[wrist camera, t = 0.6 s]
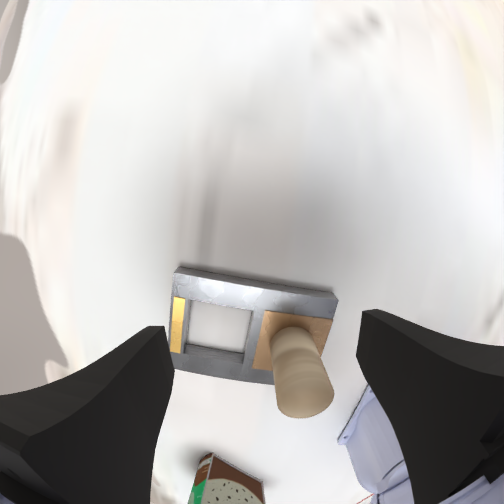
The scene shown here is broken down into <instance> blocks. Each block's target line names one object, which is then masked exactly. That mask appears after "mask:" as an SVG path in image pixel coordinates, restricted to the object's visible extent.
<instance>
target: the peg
mask: <svg viewBox="0 0 504 504" xmlns="http://www.w3.org/2000/svg"><path fill="white" fill-rule="evenodd" d="M270 352H271V360H272V367H273V375H274V383H275V390H276V398H277V406H278V408H279V410H280V411H281V412H282V413H283V414H284V415H286V416H288V417H292V418H308V417H312V416H315V415H317V414H319V413H321V412H322V411H324V410H325V409H326V408H327V407H328V406H329V405H330V404H331V402H332V400H333V398H334V390H333V387H332V385H331V382H330V380H329V377H328V375H327V372H326V370H325V367H324V365H323V362H322V360H321V358H320V355H319V353H318V350H317V348H316V345H315V343H314V341H313V338H312V336H311V334H310V333H309V332H308V331H307V330H305V329H303V328H300V327H288V328H284V329H282V330H280V331H279V332H277V333H276V334H275V335H274V337H273V338H272V340H271V343H270Z"/></svg>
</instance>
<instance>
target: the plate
mask: <svg viewBox="0 0 504 504" xmlns="http://www.w3.org/2000/svg"><path fill="white" fill-rule="evenodd" d="M191 300H196V301H201V302H206V303H212V304H217V305H223V306H228V307H234V308H240V309H246V310H252V315H251V320H250V324H249V329H248V334H247V339H246V344H245V348H244V353H243V354H242V353H236V352H229V351H224V350H218V349H212V348H207V347H202V346H196V345H192V344H187V336H188V326H189V316H190V307H191ZM337 304H338V299H337V298H336V296H335V295H334V294H333V293H331V292H324V291H318V290H311V289H305V288H298V287H292V286H286V285H280V284H274V283H268V282H262V281H256V280H250V279H244V278H239V277H233V276H227V275H222V274H216V273H211V272H205V271H200V270H194V269H189V268H184V267H178V268H177V269H176V271H175V272H174V276H173V286H172V296H171V308H170V322H169V337H168V345H169V349H170V354H171V358H172V362H173V366H174V369H178V370H182V371H187V372H192V373H197V374H202V375H207V376H213V377H219V378H225V379H231V380H238V381H245V382H252V383H261V384H270V385H275V383H274V375H273V367H272V360H271V352H270V343H271V340H272V338H273V337H274V335H275V334H276V333H277V332H279V331H280V330H282V329H284V328H288V327H300V328H303V329H305V330H307V331H308V332H309V333H310V334H311V336H312V338H313V341H314V343H315V345H316V348H317V350H318V353H319V355H320V358H321V355H322V352H323V349H324V346H325V343H326V340H327V337H328V334H329V331H330V328H331V325H332V322H333V317H334V314H335V310H336V307H337Z"/></svg>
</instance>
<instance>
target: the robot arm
mask: <svg viewBox="0 0 504 504" xmlns="http://www.w3.org/2000/svg"><path fill="white" fill-rule="evenodd" d="M356 357H357V360H358V362H359V365H360V368H361V370H362V373H363V375H364V377H365V379H366V381H367V382H368V384H369V385H368V387H367V389H366V391H365V393H364V395H363V397H362V399H361V401H360V403H359V405H358V407H357V409H356V410H355V412H354V414H353V416H352V418H351V419H350V421H349V423H348V425H347V426H346V428H345V430H344V431H343V433H342V435H341V436H340V438H339V440H338V444H339V445H346V447H347V450H348V453H349V456H350V459H351V462H352V464H353V467H354V470H355V473H356V476H357V479H358V481H359V483H360V485H361V486H362V487H363V488H364V489H366V490H367V491H369V492H371V493H373V494H374V495H373V496H372V498H371V502H370V504H504V346H494V345H487V344H480V343H474V342H469V341H465V340H461V339H457V338H453V337H450V336H447V335H444V334H441V333H438V332H435V331H432V330H430V329H427V328H425V327H422V326H420V325H417V324H415V323H412V322H410V321H407V320H405V319H403V318H400V317H398V316H395V315H393V314H390V313H388V312H385V311H382V310H379V309H373V310H366V311H362V318H361V326H360V333H359V340H358V346H357V352H356ZM174 372H175V370H174V366H173V362H172V358H171V354H170V349H169V345H168V341H167V336H166V332H165V327H164V326H148V327H146V328H144V329H142V330H141V331H139V332H138V333H137V334H135V335H134V336H132V337H131V338H129V339H128V340H127V341H125V342H124V343H122V344H121V345H119V346H118V347H117V348H115V349H114V350H112V351H111V352H109V353H108V354H106V355H104V356H103V357H101V358H100V359H98V360H97V361H95V362H93V363H92V364H90V365H88V366H87V367H85V368H83V369H81V370H79V371H77V372H75V373H73V374H71V375H69V376H67V377H65V378H62V379H60V380H57V381H54V382H52V383H49V384H46V385H44V386H41V387H38V388H34V389H31V390H27V391H23V392H18V393H13V394H8V395H0V504H150V491H151V478H152V469H153V462H154V454H155V448H156V444H157V439H158V436H159V433H160V429H161V426H162V422H163V419H164V416H165V413H166V409H167V406H168V403H169V399H170V396H171V392H172V386H173V379H174Z"/></svg>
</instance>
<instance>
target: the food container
mask: <svg viewBox="0 0 504 504" xmlns="http://www.w3.org/2000/svg"><path fill="white" fill-rule="evenodd" d="M188 504H266V503H265V496H264V488H263V481H261V480H259V479H257V478H255V477H253V476H251V475H250V474H248V473H246V472H244V471H242V470H241V469H239V468H237V467H235V466H234V465H232V464H230V463H229V462H227V461H225V460H224V459H222V458H221V457H219V456H217V455H216V454H214V453H210V454H208V455H206V456H205V457H204V458H203V459H201V460H200V463H199V467H198V470H197V474H196V477H195V480H194V484H193V487H192V491H191V494H190V497H189V501H188Z"/></svg>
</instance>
